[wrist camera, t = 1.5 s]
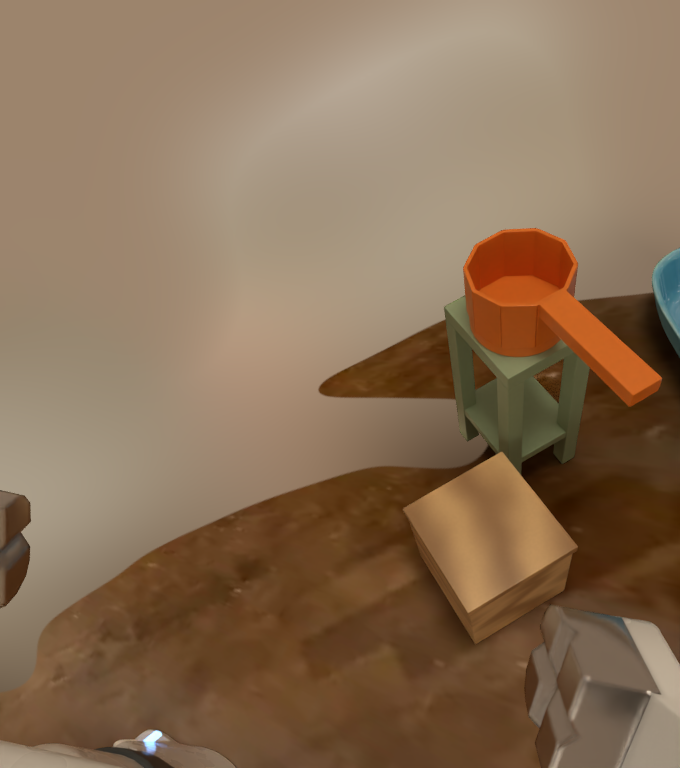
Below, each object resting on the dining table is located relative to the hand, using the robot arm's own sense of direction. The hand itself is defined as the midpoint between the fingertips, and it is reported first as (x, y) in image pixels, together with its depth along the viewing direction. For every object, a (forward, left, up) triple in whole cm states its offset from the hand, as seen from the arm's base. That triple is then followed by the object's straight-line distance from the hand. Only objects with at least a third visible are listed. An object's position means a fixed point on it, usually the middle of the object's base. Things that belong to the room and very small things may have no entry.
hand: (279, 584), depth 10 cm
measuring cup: (+21, +18, -31) cm, 42 cm away
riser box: (+11, +13, -52) cm, 55 cm away
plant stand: (+21, +23, -52) cm, 61 cm away
